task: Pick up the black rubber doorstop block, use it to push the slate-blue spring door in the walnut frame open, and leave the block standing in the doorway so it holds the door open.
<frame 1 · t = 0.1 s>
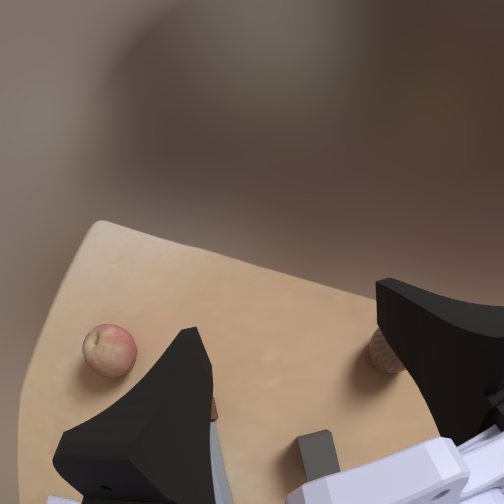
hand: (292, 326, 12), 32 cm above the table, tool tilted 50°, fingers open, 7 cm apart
apple: (124, 356, 44), on the table
door: (212, 472, 33), point 3 cm above the table, hinge at 0.0°
vase: (387, 351, 40), on the table
doorstop block: (316, 452, 35), on the table
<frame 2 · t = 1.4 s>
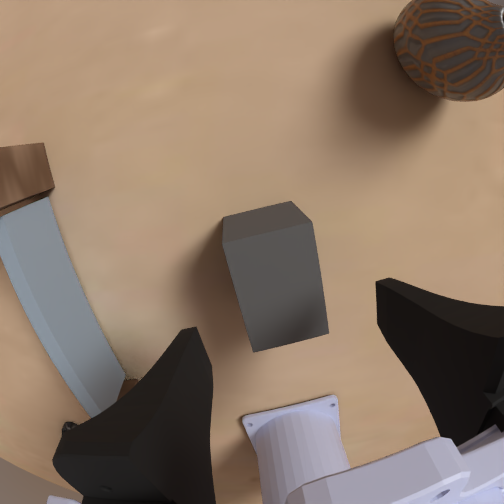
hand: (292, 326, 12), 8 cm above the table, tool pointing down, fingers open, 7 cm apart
door: (57, 316, 17), point 3 cm above the table, hinge at 0.0°
vase: (421, 55, 16), on the table
doorstop block: (268, 255, 19), on the table
door frame: (70, 274, 19), on the table
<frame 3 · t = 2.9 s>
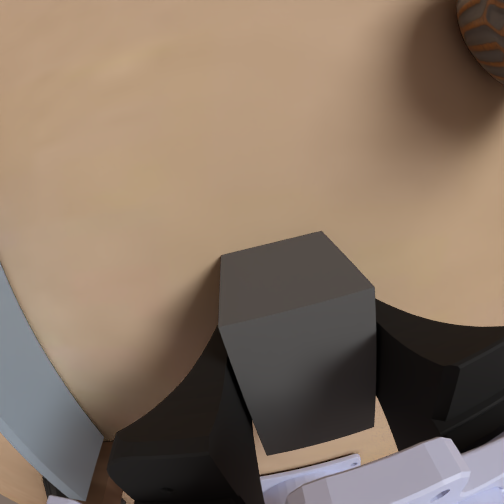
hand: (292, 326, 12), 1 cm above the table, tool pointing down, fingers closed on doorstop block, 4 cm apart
door: (9, 380, 11), point 3 cm above the table, hinge at 0.0°
vase: (483, 36, 10), on the table
phone: (83, 503, 21), on the table
doorstop block: (286, 308, 13), on the table, touching gripper
door frame: (23, 323, 13), on the table
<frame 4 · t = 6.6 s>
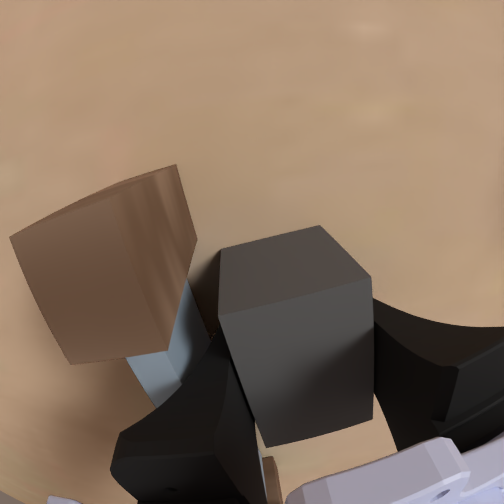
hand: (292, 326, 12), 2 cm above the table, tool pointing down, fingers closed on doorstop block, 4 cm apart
door: (206, 425, 12), point 3 cm above the table, hinge at 1.1°, touching gripper
doorstop block: (285, 302, 14), on the table, touching gripper
door frame: (210, 360, 14), on the table
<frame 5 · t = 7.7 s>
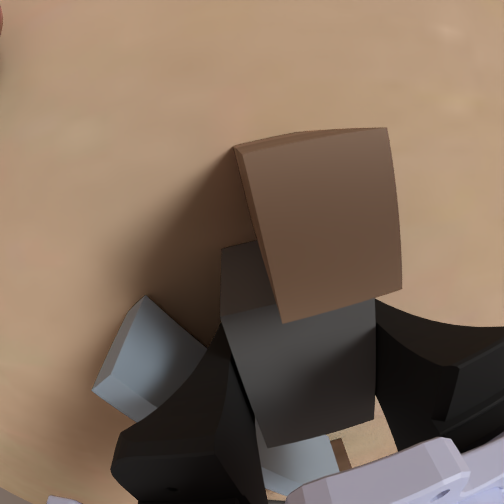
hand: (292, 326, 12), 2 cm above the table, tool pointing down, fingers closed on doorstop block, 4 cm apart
door: (241, 434, 13), point 3 cm above the table, hinge at 27.8°, touching gripper
doorstop block: (285, 302, 13), on the table, touching gripper
door frame: (306, 336, 14), on the table
when the fingers open (2 cm above the table, at t = 10.0 s): doorstop block stays where it is, on the table.
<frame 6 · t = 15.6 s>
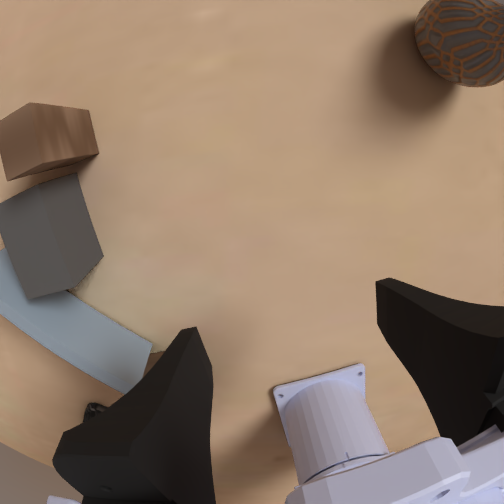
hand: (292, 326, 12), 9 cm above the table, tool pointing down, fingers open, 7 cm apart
door: (56, 323, 19), point 3 cm above the table, hinge at 41.7°
vase: (436, 47, 17), on the table
doorstop block: (66, 223, 19), on the table
door frame: (109, 241, 20), on the table
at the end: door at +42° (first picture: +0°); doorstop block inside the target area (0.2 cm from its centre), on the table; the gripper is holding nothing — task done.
